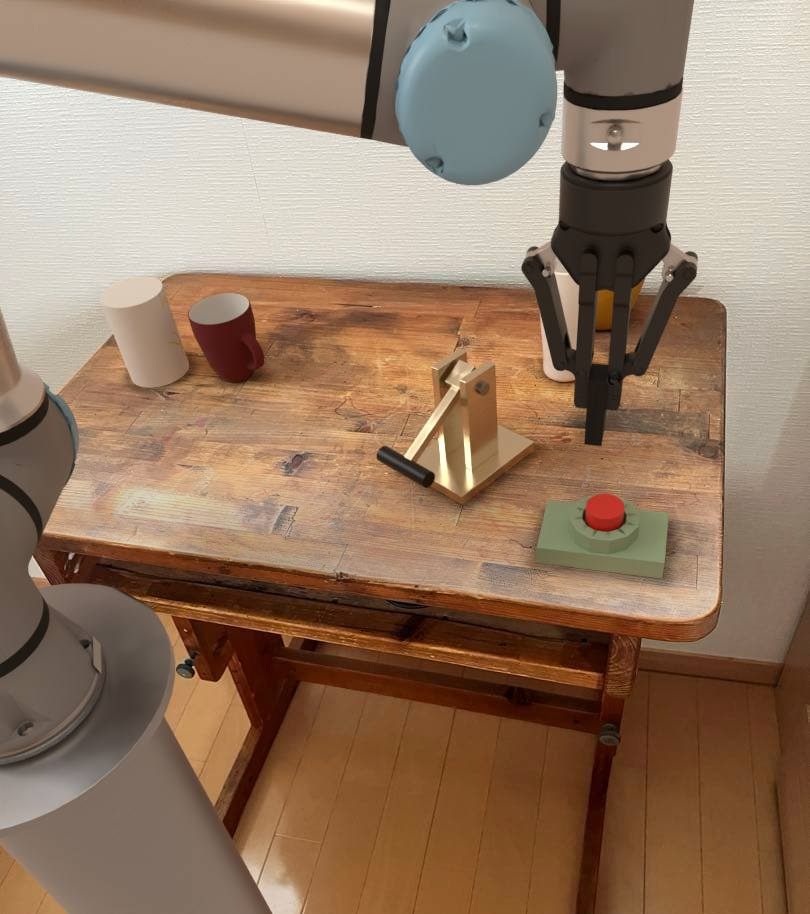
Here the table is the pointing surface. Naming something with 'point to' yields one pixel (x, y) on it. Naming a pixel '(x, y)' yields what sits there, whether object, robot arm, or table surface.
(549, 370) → the drinking glass
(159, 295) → the cup
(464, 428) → the power switch
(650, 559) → the control pad
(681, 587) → the table surface
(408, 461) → the lever
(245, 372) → the mug
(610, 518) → the stop button
